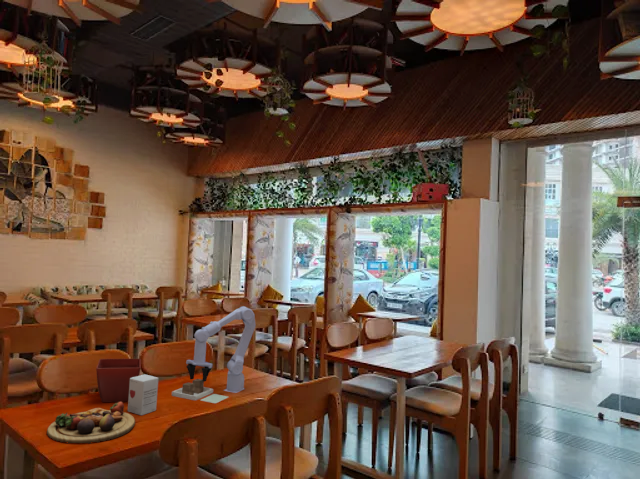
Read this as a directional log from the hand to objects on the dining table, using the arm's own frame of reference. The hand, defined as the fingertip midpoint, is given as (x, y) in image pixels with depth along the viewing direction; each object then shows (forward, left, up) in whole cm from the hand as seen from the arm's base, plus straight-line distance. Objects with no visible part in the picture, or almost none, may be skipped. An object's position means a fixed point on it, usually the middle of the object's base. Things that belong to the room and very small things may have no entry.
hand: (198, 380), depth 249 cm
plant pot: (+26, -27, -7) cm, 38 cm away
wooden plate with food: (+60, -7, -7) cm, 61 cm away
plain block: (+8, 0, -6) cm, 10 cm away
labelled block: (0, 0, -6) cm, 6 cm away
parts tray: (+4, 0, -7) cm, 8 cm away
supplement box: (+34, -5, -7) cm, 35 cm away
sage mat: (+4, +13, -7) cm, 15 cm away
